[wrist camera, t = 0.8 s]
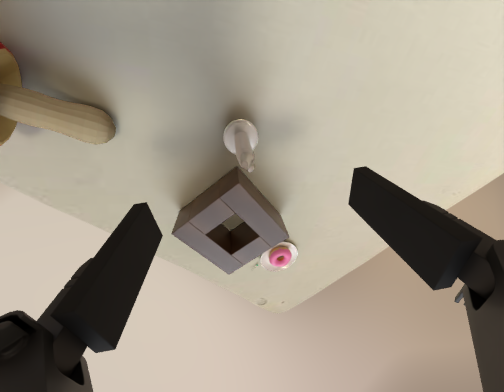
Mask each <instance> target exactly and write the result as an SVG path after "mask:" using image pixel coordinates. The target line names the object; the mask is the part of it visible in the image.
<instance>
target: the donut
mask: <svg viewBox="0 0 504 392" xmlns="http://www.w3.org/2000/svg"><path fill="white" fill-rule="evenodd" d="M297 255H298V251H297V248H296V247H295V246H294V245H293V244H291V243H289V242H281V243H279V244H277V245H276V246H274V247H272V248H271V249H269V250H268V251H266V252H264V253H263V254H262V255H261V257H260V263H261V265H262V267H263V268H265V269H266V270H269V271H280V270H283V269H286V268H288V267H289V266H290V265H292V264H293V263H294V261H295V260H296V258H297ZM257 266H258V264H257ZM255 268H256V267H255ZM255 268H253V269H255Z"/></svg>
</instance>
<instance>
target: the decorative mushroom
mask: <svg viewBox="0 0 504 392" xmlns="http://www.w3.org/2000/svg"><path fill="white" fill-rule="evenodd" d="M17 122H20V123H24V124H27V125H30V126H34V127H39V128H45V129H49V130H53V131H56V132H59V133H62V134H65V135H67V136H70V137H72V138H75V139H78V140H80V141H83V142H87V143H91V144H96V145H97V144H102V143H107V142H108V141H109V140H111V139H112V138H113V137H114V136H115V131H116V127H115V125H114V123H113V121H112V119H111V117H110V116H108V115H107V114H106V113H105V112H104V111H103V110H100V109H97V108H94V107H91V106H88V105H83V104H77V103H72V102H67V101H63V100H59V99H55V98H52V97H49V96H47V95H44V94H42V93H39V92H36V91H33V90H29V89H25V88H22V81H21V76H20V71H19V66H18V64H17V62H16V60H15V58H14V56H13V54H12V53H11V52H10V51H9V49H8V48H7V47H6V46H5V45H3V44H2V43H1V42H0V146H1V145H2V144H4V143H5V142H6V141H7V140H8V139H9V138H10V136H11V134H12V133H13V131H14V129H15V127H16V124H17Z"/></svg>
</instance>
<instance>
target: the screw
mask: <svg viewBox="0 0 504 392" xmlns="http://www.w3.org/2000/svg"><path fill="white" fill-rule="evenodd" d="M223 140H224V144H225V146H226V147H227V149H228V150H229V151H231V152H232V153H234V154H236V157H237V160H238V162H239V164H240V165H241V168H245V169H246V170H247V171H248V172H252V171H253V170H254V168H255V164H254V161H253V160H254V152H253V150H254V148H255V147H256V145H257V143H258V131H257V129H256V127H255V126H254V125H253V124H252V123H251V122H250V121H248V120H245V119H236V120H233V121H232V122H230V123H229V124H228V125H227V126H226V128H225V130H224V134H223Z"/></svg>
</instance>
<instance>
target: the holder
mask: <svg viewBox="0 0 504 392" xmlns="http://www.w3.org/2000/svg"><path fill="white" fill-rule="evenodd" d="M235 213H236V214H237V215H238V216H239V217H240V218H241V219H242V220H243V221H244V223H242V224H241V225H239V226H238V227H236V228H235V229H234V230H232V231H231V232H230V231H229V230H228V229H227V228H226V227H225V226H223V225H222V224H221V223H222V222H224V221H225V220H227V219H228V218H229V217H231V216H232V215H234V214H235ZM172 235H174V236H175V237H177V238H178V239H179V240H181V241H182V242H184V243H185V244H186V245H188V246H189V247H191V248H192V249H194V250H195V251H196V252H198V253H199V254H201V255H202V256H203V257H205V258H206V259H208V260H209V261H210V262H212V263H213V264H215V265H216V266H218V267H219V268H220V269H222V270H223V271H225V272H226V273H227V274H231V273H232V272H234V271H235V270H237V269H239V268H240V267H242V266H243V265H245V264H247V263H248V262H250V261H251V260H253V259H255V258H256V257H258V256H260V255H261V254H263V253H264V252H266V251H268V250H269V249H271V248H272V247H274V246H276V245H277V244H279V243H281V242H282V241H284V240H285V239H287V238H289V235H288V232H287V230H286V227H285V225H284V222H283V220H282V217H281V215H280V214H279V213H278V212H277V211H276V210H275V208H274V207H273V206H272V205H271V204H270V203H269V202H268V200H267V199H266V198H265V197H264V196H263V195H262V194H261V193H260V191H259V190H258V189H257V188H256V187H255V186H254V185H253V184H252V182H251V181H250V180H249V179H248V178H247V177H246V176H245V175H244V173H243V172H242V171H241V170H240V169H239V168H238V167H235V168H234V169H233V170H231V171H230V172H229V173H228V174H226V175H225V176H224V177H223V178H221V179H220V180H219V181H217V182H216V183H215V184H214V185H212V186H211V187H210V188H209V189H207V190H206V191H205V192H203V193H202V194H201V195H200V196H198V197H197V198H196V199H194V200H193V201H192V202H191V203H189V204H188V205H187V206H186V207H184V208H183V209H182V210H180V212H179V215H178V217H177V220H176V223H175V226H174V228H173V231H172Z"/></svg>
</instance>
